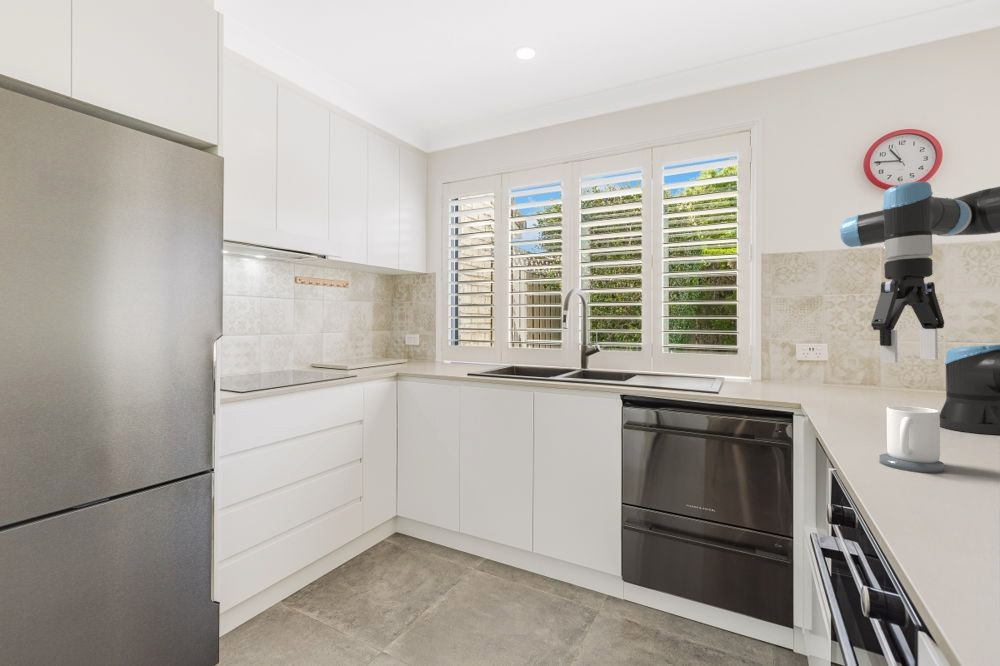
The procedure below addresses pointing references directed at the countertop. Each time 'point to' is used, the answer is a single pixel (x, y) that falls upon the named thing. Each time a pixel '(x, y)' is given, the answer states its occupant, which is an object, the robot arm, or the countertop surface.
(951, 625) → the countertop surface
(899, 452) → the mug
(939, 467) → the slate plate
